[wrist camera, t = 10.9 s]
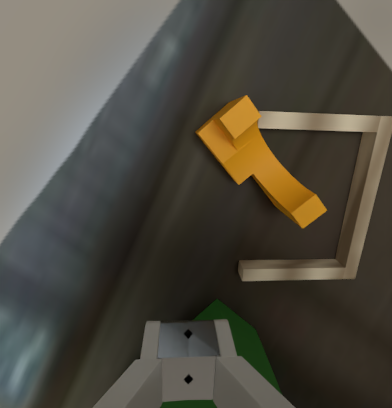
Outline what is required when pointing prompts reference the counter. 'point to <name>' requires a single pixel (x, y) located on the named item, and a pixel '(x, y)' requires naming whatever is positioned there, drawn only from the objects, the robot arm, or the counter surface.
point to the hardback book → (244, 345)
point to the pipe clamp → (256, 160)
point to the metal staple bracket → (357, 201)
